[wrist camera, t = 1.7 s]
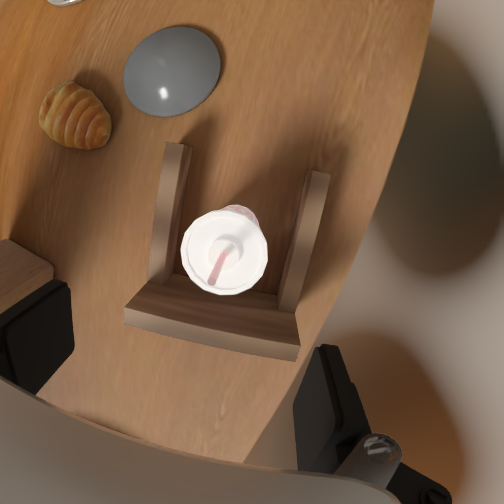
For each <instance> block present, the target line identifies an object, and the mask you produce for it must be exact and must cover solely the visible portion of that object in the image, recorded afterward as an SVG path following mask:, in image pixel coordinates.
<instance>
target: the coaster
mask: <svg viewBox="0 0 504 504" xmlns="http://www.w3.org/2000/svg"><path fill="white" fill-rule="evenodd" d="M220 70H221V60H220V55H219V52H218V50H217V48H216V46H215V44H214V43H213V41H212V40H211V39H210V38H209V37H208V36H207V35H206V34H204V33H203V32H201V31H199V30H196V29H194V28H190V27H182V26H181V27H170V28H166V29H162V30H160V31H157V32H155V33H153V34H151V35H150V36H148V37H147V38H145V39H144V40H143V41H142V42H141V43H140V44H139V45H138V46H137V47H136V48H135V49H134V50H133V52H132V53H131V55H130V56H129V58H128V61H127V63H126V66H125V69H124V76H123V83H124V89H125V92H126V95H127V97H128V98H129V100H130V101H131V103H132V104H133V105H134V106H135V107H136V108H138V109H139V110H141V111H143V112H145V113H147V114H150V115H153V116H157V117H173V116H177V115H181V114H184V113H186V112H188V111H191V110H192V109H194V108H196V107H197V106H199V105H200V104H201V103H202V102H203V101H204V100H205V99H207V97H208V96H209V95H210V94H211V93H212V91H213V89H214V88H215V86H216V84H217V82H218V79H219V76H220Z"/></svg>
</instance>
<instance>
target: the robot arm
mask: <svg viewBox="0 0 504 504" xmlns="http://www.w3.org/2000/svg"><path fill="white" fill-rule="evenodd" d="M47 1H48V2H50V3H51V4H53V5H56V6H68V5H72V4H74V3H77V2H79V1H82V0H47ZM74 347H75V343H74V333H73V322H72V309H71V291H70V288H69V287H68V285H67V283H66V282H63V281H60V280H57V279H52V280H50V281H49V282H47V283H46V284H44V285H43V286H41V287H40V288H38V289H36V290H35V291H33V292H32V293H30V294H29V295H27V296H26V297H24V298H23V299H21V300H20V301H18V302H17V303H16V304H14V305H13V306H11V307H10V308H8V309H7V310H5V311H4V312H3V313H1V314H0V504H452V498H451V495H450V493H449V492H448V490H447V489H446V488H445V487H443V486H442V485H441V484H438V483H437V482H435V481H433V480H431V479H429V478H428V477H426V476H424V475H422V474H420V473H419V472H417V471H415V470H413V469H412V468H410V467H408V466H407V465H405V464H403V463H401V459H402V449H401V447H400V445H399V444H398V443H397V442H396V441H395V440H394V439H393V438H391V437H389V436H387V435H384V434H380V433H372V432H371V429H370V426H369V424H368V420H367V418H366V415H365V412H364V409H363V406H362V403H361V400H360V398H359V395H358V392H357V389H356V387H355V385H354V383H351V381H350V379H349V375H348V373H347V370H346V367H345V364H344V361H343V359H342V356H341V353H340V350H339V348H338V346H335V345H328V344H322V345H321V346H320V347H316V348H315V349H314V351H313V354H312V357H311V359H310V362H309V365H308V368H307V370H306V373H305V375H304V377H303V380H302V382H301V385H300V388H299V390H298V392H297V395H296V397H295V399H294V403H293V417H294V428H295V440H296V452H297V464H298V470H289V469H279V468H270V467H262V466H255V465H249V464H242V463H236V462H230V461H224V460H219V459H214V458H209V457H204V456H199V455H195V454H191V453H187V452H182V451H179V450H175V449H171V448H167V447H164V446H160V445H157V444H153V443H150V442H147V441H143V440H140V439H137V438H134V437H131V436H128V435H125V434H122V433H119V432H117V431H114V430H111V429H109V428H106V427H103V426H101V425H98V424H96V423H93V422H91V421H88V420H86V419H84V418H81V417H79V416H77V415H74V414H72V413H70V412H68V411H66V410H63V409H61V408H59V407H57V406H55V405H53V404H51V403H49V402H47V401H45V400H43V399H41V398H39V397H37V396H35V395H36V394H37V393H38V391H39V390H40V389H41V388H42V387H43V386H44V384H45V383H46V382H47V381H48V380H49V379H50V377H51V376H52V375H53V374H54V373H55V372H56V371H57V369H58V368H59V367H60V366H61V365H62V364H63V363H64V361H65V360H66V359H67V358H68V357H69V356H70V355H71V354H72V352H73V350H74Z"/></svg>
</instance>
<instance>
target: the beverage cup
mask: <svg viewBox="0 0 504 504" xmlns="http://www.w3.org/2000/svg"><path fill="white" fill-rule="evenodd" d="M181 257H182V264H183V266H184V268H185V270H186V272H187V273H188V275H189V277H190V279H191V280H192V281H194V282H195V283H196V284H197V285H198V286H200V287H201V288H202V289H203V290H206V291H209V292H212V293H215V294H218V295H233V294H238V293H240V292H242V291H245V290H247V289H249V288H251V287H252V286H253V285H254V284H255V283H256V282H257V281H258V280H259V279H260V278H261V277H262V275H263V272H264V270H265V267H266V264H267V261H268V255H267V242H266V239H265V237H264V235H263V233H262V231H261V229H260V227H259V223H258V220H257V218H256V216H255V214H254V213H253V212H252V211H250V210H249V209H248V208H247V207H244V206H241V205H228V206H226V207H224V208H222V209H220V210H215V211H211V212H209V213H207V214H205V215H203V216H201V217H199V218H198V219H196V220H195V221H194V222H193V223H192V225H191V226H190V227H189V228H188V230H187V231H186V232H185V234H184V238H183V241H182V245H181Z"/></svg>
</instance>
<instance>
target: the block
mask: <svg viewBox="0 0 504 504" xmlns="http://www.w3.org/2000/svg"><path fill="white" fill-rule="evenodd" d="M53 276H54V267H53V265H52V264H51V263H49V262H48V261H46V260H44V259H42V258H40V257H39V256H37V255H35V254H33V253H32V252H30V251H28V250H26V249H25V248H23V247H21V246H20V245H18V244H16V243H15V242H13V241H11V240H8V239H4V240H2V241H0V314H1V313H3V312H4V311H5V310H7V309H8V308H10V307H11V306H13V305H14V304H16V303H17V302H18V301H20V300H21V299H23V298H24V297H26V296H27V295H29V294H30V293H32V292H33V291H35V290H36V289H38V288H40V287H41V286H43V285H44V284H46V283H47V282H49V281H50V280H52V279H53Z"/></svg>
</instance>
